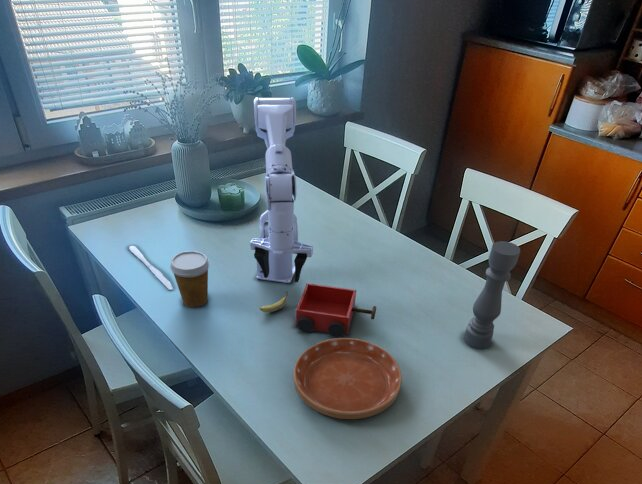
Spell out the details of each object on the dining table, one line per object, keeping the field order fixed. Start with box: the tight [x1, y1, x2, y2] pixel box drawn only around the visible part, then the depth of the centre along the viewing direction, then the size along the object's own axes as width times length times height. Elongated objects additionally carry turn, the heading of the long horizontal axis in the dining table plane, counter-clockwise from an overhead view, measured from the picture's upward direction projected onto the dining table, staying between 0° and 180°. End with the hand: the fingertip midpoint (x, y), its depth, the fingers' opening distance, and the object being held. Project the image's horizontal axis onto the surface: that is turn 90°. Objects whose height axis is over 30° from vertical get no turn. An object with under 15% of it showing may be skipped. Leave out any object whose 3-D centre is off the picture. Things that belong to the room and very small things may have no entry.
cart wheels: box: [296, 305, 377, 338], centre depth 127 cm, size 18×14×4 cm
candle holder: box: [463, 240, 521, 350], centre depth 115 cm, size 6×6×25 cm
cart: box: [295, 282, 357, 336], centre depth 127 cm, size 13×12×5 cm
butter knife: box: [128, 245, 174, 291], centre depth 144 cm, size 1×27×3 cm
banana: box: [259, 291, 289, 313], centre depth 129 cm, size 8×2×4 cm, turn 125°
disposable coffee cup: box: [169, 250, 210, 308], centre depth 129 cm, size 10×10×12 cm
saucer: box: [293, 337, 403, 420], centre depth 110 cm, size 23×23×4 cm
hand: (282, 277), depth 125 cm, fingers open, 7 cm apart
